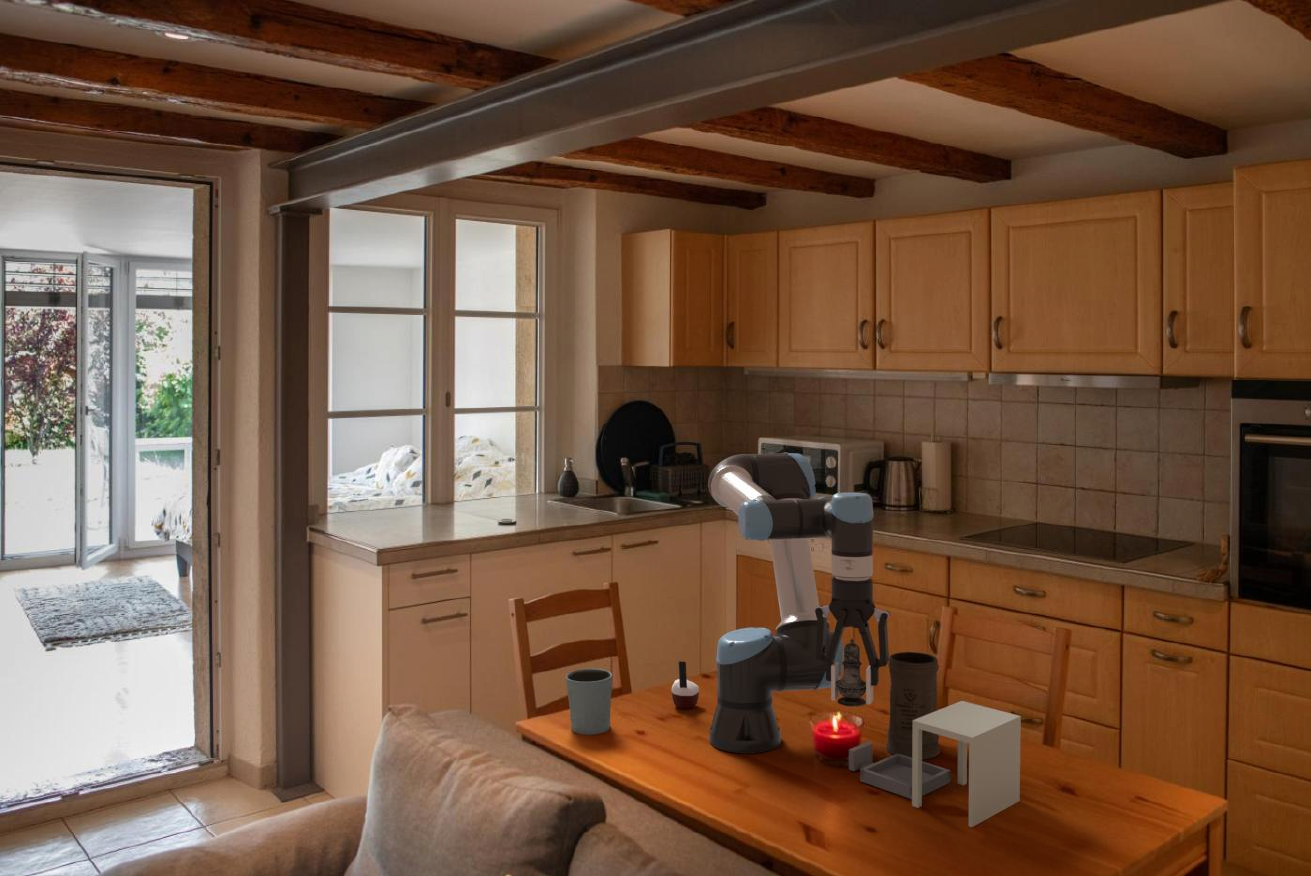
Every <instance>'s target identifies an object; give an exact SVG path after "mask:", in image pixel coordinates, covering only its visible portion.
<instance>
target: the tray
mask: <svg viewBox="0 0 1311 876" xmlns="http://www.w3.org/2000/svg"><path fill="white" fill-rule="evenodd" d="M848 770H849V771H853V772H855V771H857V770H859V781H860V782H862V783H864V784H868V785H871V786H873V787H876V788H879V789H881V790H883V791H884V790H885V791H887V792H890V793H892V794H895V795H898V796H901V797H904V798H907V799H910V800H912V758H911V757H908V756H904V755H901V754H898V753H897V754H895V755H893V754H891V756H888V757H886V758H883V759H881V760H878V761H876V762H873V742H872V743H871V742H869V741H866V742H863V743H861V744H859V745H856V746H854V747H852V748H849V749H848ZM951 773H952V771H951V769H948V768H945V767H941V766H938V765H935V764H932V763H929V762H926V761H923V760H922V797H923V796H925V795H927V794H929V793H931V792H933V791H935V790H937V789H939V788H942V787H943V786H946V785H948V784H950V783H951V781H952V780H951V778H952V777H951Z"/></svg>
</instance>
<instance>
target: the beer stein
mask: <svg viewBox="0 0 1311 876" xmlns="http://www.w3.org/2000/svg"><path fill="white" fill-rule="evenodd" d="M887 666H888V670H889V672H888V673H889V676H890V689H889V724H888V729H887V733H886V734H887V741H886V747H885V748H886V750H887V752H888V753H890V754H891V755H895V754H897V753H898V754H901V755H904V756H908V757H911V758H912V735H913V720H915V719H917V718H920V717H922V716H925V715H927V714H930V713H932V712H935V711H937V710H938V697H937V696H938V694H937V693H938V690H937V688H938V687H937V684H938V683H937V681H938V679H937V677H938V674H937V673H938V671H939V668H940V666H939V659H938V657H936V656H934V655H932V654H928V653H925V652H916V651H903V652H896V653H893V654H890V655H889V662H888V664H887ZM939 739H940V735H938V734H935V733H931V732H928V731H925V730H922V760H930V759H933V758H936V757H938V756H939V754H940V753H941V748H940V744H939Z"/></svg>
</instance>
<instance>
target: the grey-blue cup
mask: <svg viewBox="0 0 1311 876" xmlns="http://www.w3.org/2000/svg"><path fill="white" fill-rule="evenodd" d="M565 683H566V688H567V689H566V690H567V696H568V697H567V698H568V706H569V710H570V711H569V716H570V726H571V731H573V732H574V733H576V734H579V735H583V736H584V735H587V736H592V735H594V736H595V735H599V734H600V735H601V734H603V733H607V732H608V731H609V730H610V728H611V708H612V699H611V698H612V696H611V695H612V689H613V688H612V684H613V673H612V672H611V671H609V670H607V669H603V668H581V669H577V670H572V671H570V672H568V673H567V674H566V676H565Z"/></svg>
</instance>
